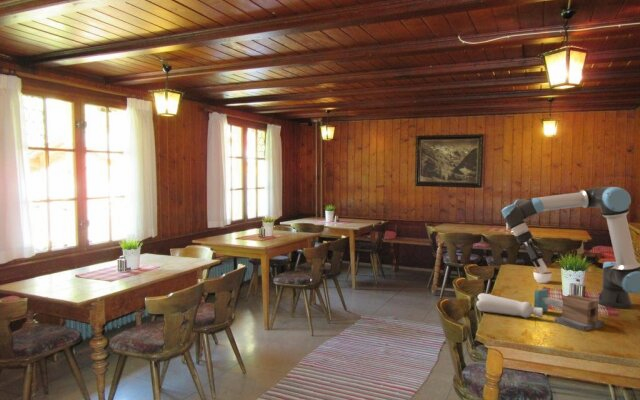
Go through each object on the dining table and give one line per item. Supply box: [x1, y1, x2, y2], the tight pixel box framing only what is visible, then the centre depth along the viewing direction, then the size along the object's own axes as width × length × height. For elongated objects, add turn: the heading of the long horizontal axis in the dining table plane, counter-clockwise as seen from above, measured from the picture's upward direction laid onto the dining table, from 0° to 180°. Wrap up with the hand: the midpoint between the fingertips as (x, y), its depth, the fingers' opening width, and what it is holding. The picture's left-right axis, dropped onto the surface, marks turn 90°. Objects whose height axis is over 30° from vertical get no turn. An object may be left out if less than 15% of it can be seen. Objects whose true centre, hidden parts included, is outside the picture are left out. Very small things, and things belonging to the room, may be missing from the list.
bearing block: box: [554, 294, 605, 332], centre depth 217 cm, size 16×14×12 cm
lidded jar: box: [532, 268, 553, 284], centre depth 298 cm, size 11×11×9 cm
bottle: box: [476, 292, 544, 319], centre depth 230 cm, size 9×9×30 cm
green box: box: [533, 288, 563, 313], centre depth 227 cm, size 8×18×11 cm, turn 29°
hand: (544, 272), depth 229 cm, fingers open, 13 cm apart
